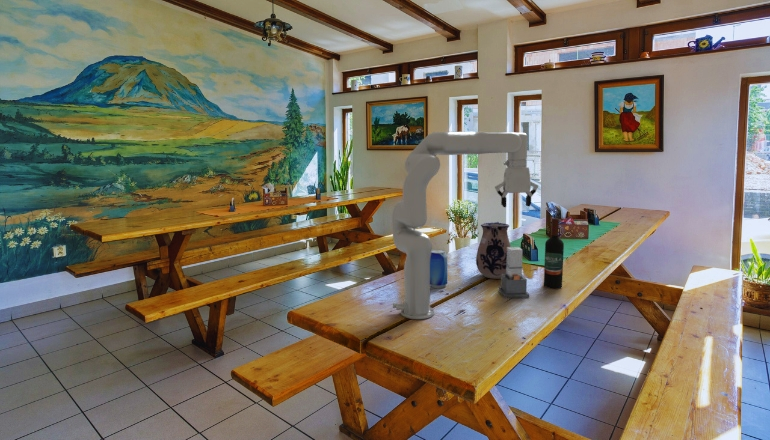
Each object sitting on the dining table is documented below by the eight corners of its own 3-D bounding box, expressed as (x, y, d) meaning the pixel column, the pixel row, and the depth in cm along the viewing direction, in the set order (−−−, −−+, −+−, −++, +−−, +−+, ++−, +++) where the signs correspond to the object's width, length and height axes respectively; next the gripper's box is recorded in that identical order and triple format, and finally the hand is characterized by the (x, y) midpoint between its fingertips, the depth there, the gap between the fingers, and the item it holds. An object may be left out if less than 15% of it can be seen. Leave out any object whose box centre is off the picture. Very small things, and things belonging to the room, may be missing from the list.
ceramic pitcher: (476, 281, 212) (477, 228, 207) (475, 268, 232) (475, 220, 228) (515, 282, 209) (517, 228, 204) (511, 269, 229) (512, 220, 225)
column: (509, 292, 191) (510, 250, 188) (505, 288, 196) (506, 247, 193) (521, 292, 191) (522, 249, 188) (517, 288, 196) (518, 246, 193)
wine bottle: (564, 285, 203) (567, 218, 198) (557, 289, 197) (560, 221, 192) (548, 282, 208) (550, 216, 203) (540, 286, 203) (543, 219, 197)
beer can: (450, 284, 208) (450, 249, 206) (442, 289, 201) (442, 254, 199) (433, 281, 213) (433, 248, 210) (425, 286, 206) (424, 251, 203)
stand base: (504, 298, 189) (505, 277, 187) (498, 290, 198) (498, 270, 197) (529, 297, 189) (529, 276, 187) (521, 289, 199) (522, 269, 197)
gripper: (497, 165, 181) (497, 208, 184) (541, 164, 181) (540, 207, 184) (493, 164, 188) (492, 205, 191) (535, 163, 188) (534, 204, 191)
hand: (516, 206), depth 187 cm, fingers open, 9 cm apart
